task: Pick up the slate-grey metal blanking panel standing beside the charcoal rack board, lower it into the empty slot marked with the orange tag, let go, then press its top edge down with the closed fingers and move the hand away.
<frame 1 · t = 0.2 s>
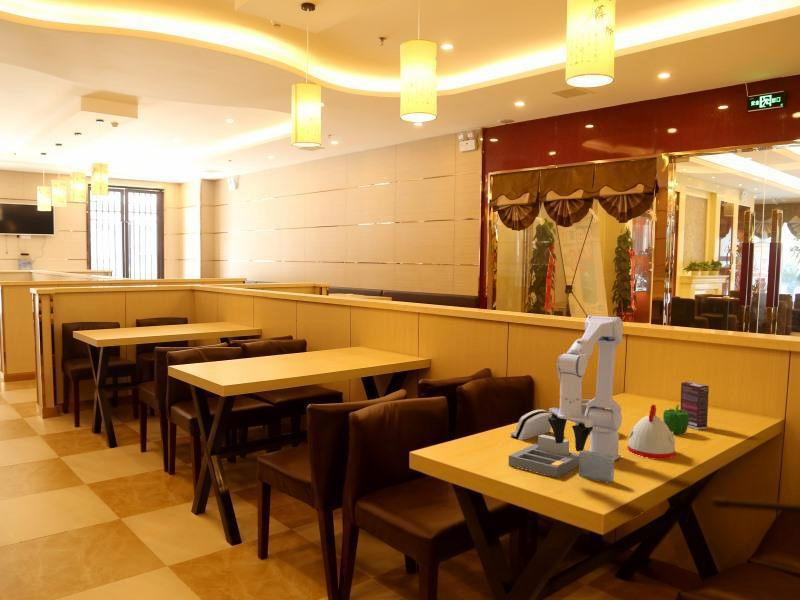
hand: (569, 446, 169), 10 cm above the table, tool pointing down, fingers open, 7 cm apart
panel: (596, 478, 173), on the table
bell pepper: (676, 433, 219), on the table
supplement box: (693, 427, 227), on the table
chicken hat: (651, 452, 197), on the table
rack: (544, 465, 184), on the table
coffee mug: (585, 429, 223), on the table
white arched block: (533, 436, 215), on the table
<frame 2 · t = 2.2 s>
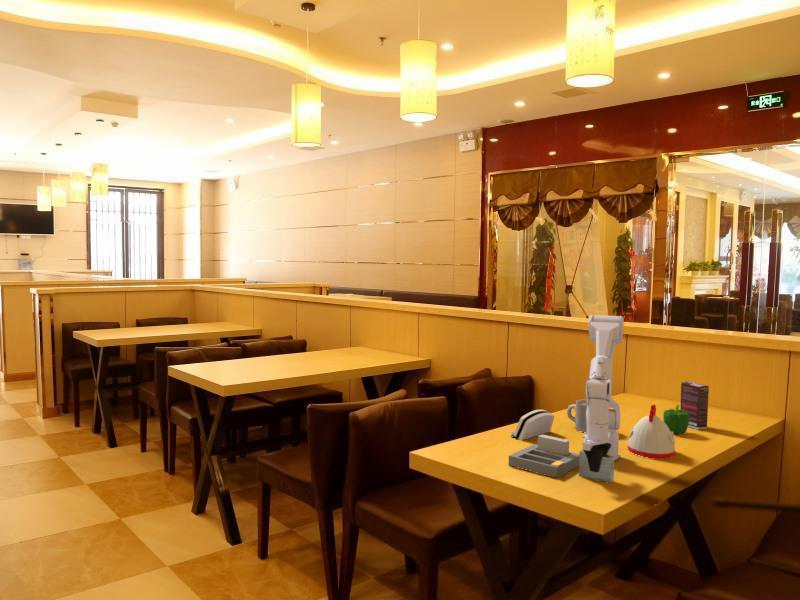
hand: (596, 470, 173), 2 cm above the table, tool pointing down, fingers closed on panel, 2 cm apart
panel: (595, 478, 173), on the table, touching gripper
everything else where it was.
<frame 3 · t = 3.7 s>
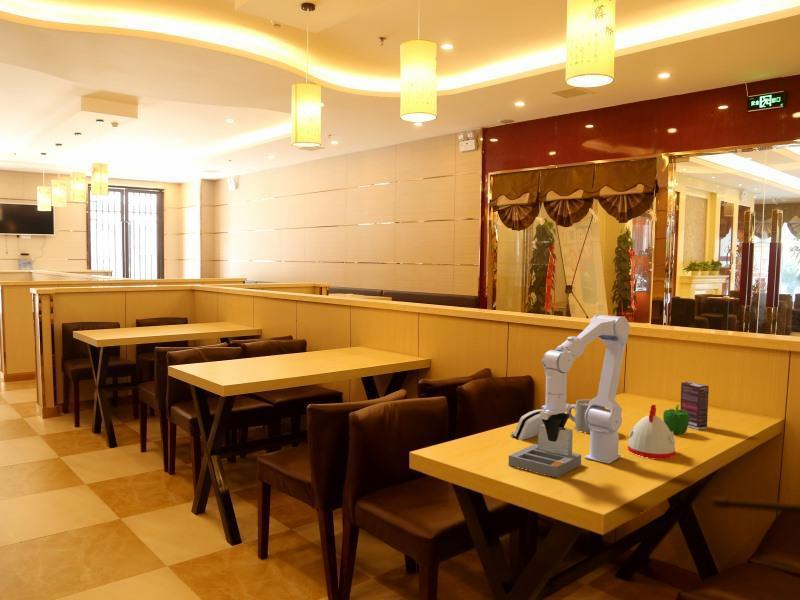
hand: (554, 439, 177), 9 cm above the table, tool pointing down, fingers closed on panel, 2 cm apart
panel: (555, 451, 177), point 6 cm above the table, touching gripper
everything else where it was.
when the fingers open (4 cm above the table, at t = 5.5 s): panel stays where it is, resting in rack.
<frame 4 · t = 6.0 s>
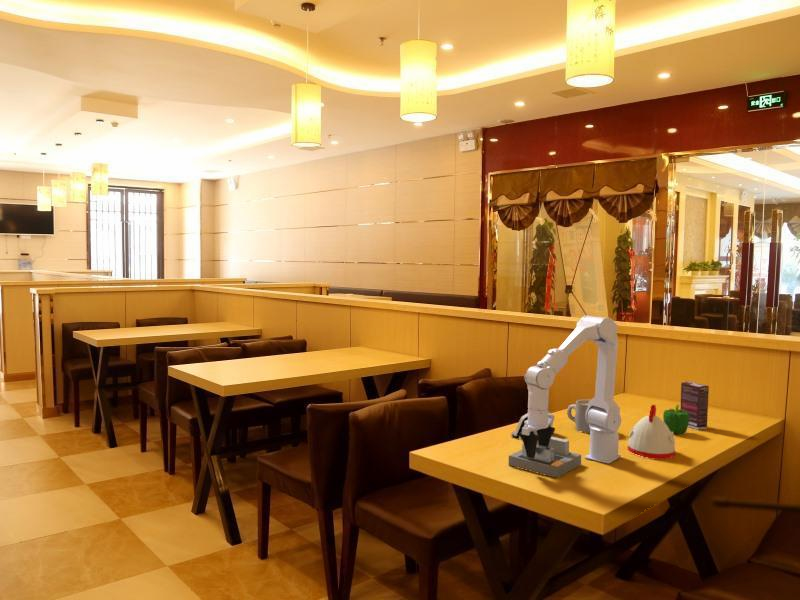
hand: (537, 454, 180), 4 cm above the table, tool pointing down, fingers open, 7 cm apart
panel: (537, 469, 180), resting in rack
everything else where it was.
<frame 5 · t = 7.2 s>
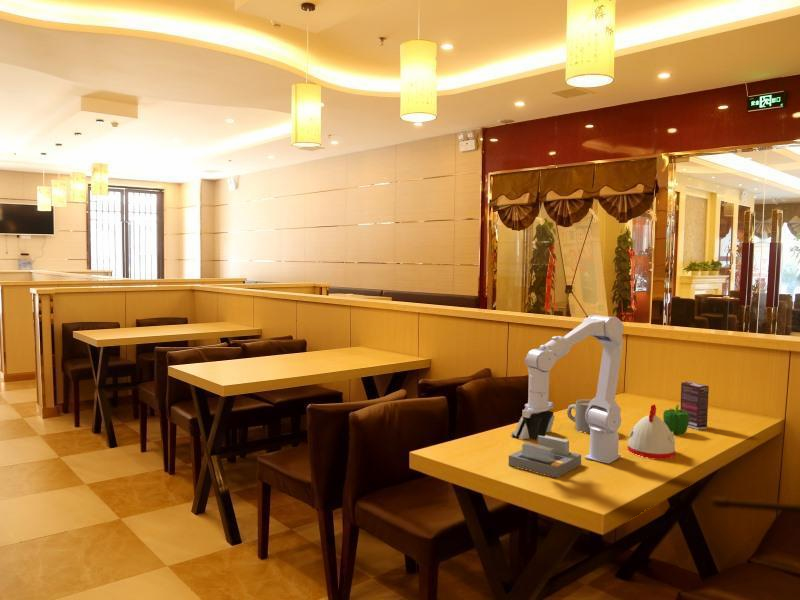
hand: (537, 437, 179), 9 cm above the table, tool pointing down, fingers open, 4 cm apart
nothing on the table moved.
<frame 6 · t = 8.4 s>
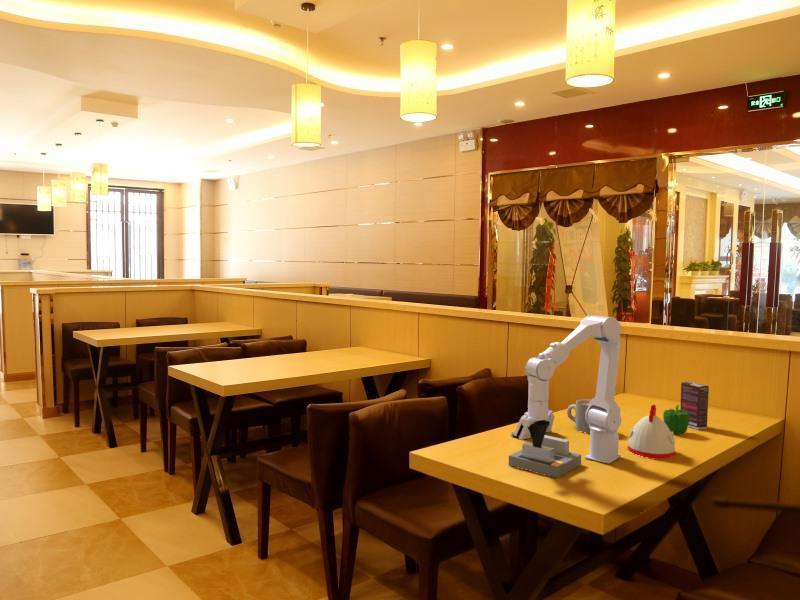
hand: (537, 445, 179), 7 cm above the table, tool pointing down, fingers closed
nothing on the table moved.
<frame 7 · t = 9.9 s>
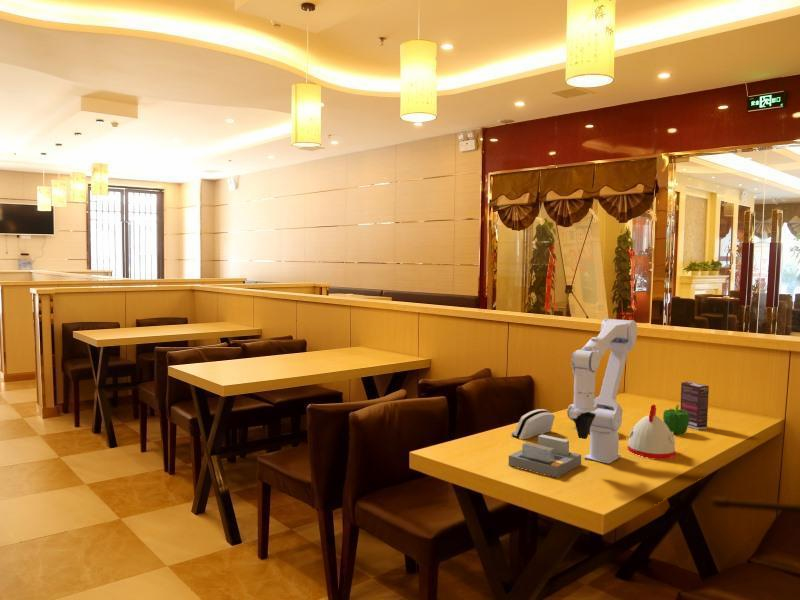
hand: (582, 438, 179), 9 cm above the table, tool pointing down, fingers closed
nothing on the table moved.
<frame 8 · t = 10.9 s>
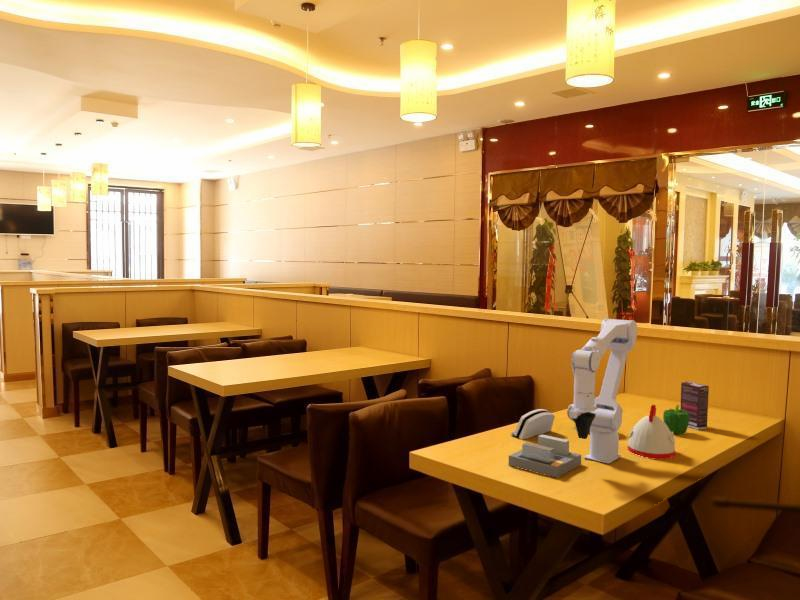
hand: (582, 438, 179), 9 cm above the table, tool pointing down, fingers closed
nothing on the table moved.
at the end: panel 0.4 cm from the target spot, resting in rack; panel tilted 0°; the gripper is holding nothing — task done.
